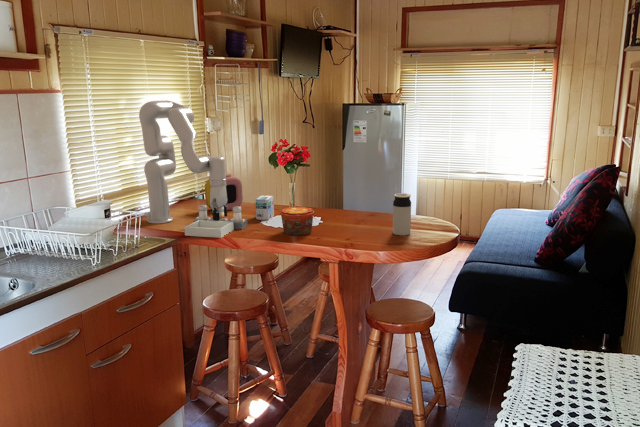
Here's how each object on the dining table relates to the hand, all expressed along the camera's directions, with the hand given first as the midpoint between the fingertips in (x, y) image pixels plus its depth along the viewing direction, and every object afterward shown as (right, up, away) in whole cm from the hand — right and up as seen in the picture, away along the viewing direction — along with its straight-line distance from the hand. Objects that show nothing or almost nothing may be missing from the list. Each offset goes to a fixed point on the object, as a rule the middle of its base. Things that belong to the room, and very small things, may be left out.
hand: (220, 218), depth 263 cm
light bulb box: (+20, 0, +18) cm, 27 cm away
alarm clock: (-5, +4, +38) cm, 39 cm away
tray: (-3, -7, -10) cm, 13 cm away
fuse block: (0, -4, +1) cm, 4 cm away
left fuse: (-9, -4, +3) cm, 10 cm away
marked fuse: (0, -4, +1) cm, 4 cm away
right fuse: (+9, -4, -1) cm, 10 cm away
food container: (+38, -7, -12) cm, 40 cm away
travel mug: (+85, -7, -16) cm, 87 cm away
